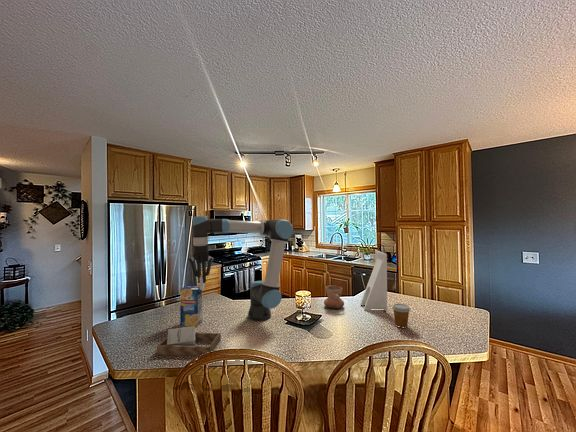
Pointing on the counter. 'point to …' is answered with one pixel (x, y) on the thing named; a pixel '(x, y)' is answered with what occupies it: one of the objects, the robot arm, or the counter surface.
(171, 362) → the counter surface
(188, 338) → the supplement box
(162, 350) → the frame
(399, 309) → the disposable coffee cup
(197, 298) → the beverage box
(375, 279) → the grey tall wedge
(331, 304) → the ceramic jug
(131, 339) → the counter surface
